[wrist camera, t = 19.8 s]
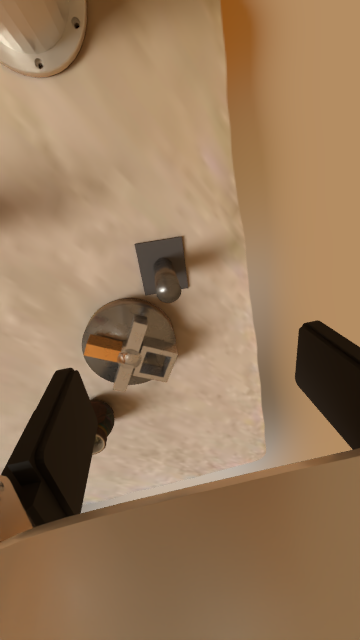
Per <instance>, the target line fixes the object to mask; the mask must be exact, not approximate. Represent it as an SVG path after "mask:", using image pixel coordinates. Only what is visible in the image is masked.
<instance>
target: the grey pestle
mask: <svg viewBox="0 0 360 640" xmlns="http://www.w3.org/2000/svg"><path fill="white" fill-rule="evenodd" d="M153 268H154V278H155V287H156V294H157V297H158V298H159V299H160V300H161V301H162V302H165V303H171V302H174V301H176V300H177V299H178V298H179V297H180V295H181V287H180V284H179V281H178V279H177V276H176V273H175V270H174V267H173V265H172V263H171V261H170V260H169V259H166V258H160V259H158V260H157V261H156V262H155V263H154V267H153Z"/></svg>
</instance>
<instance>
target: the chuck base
mask: <svg viewBox="0 0 360 640" xmlns="http://www.w3.org/2000/svg"><path fill="white" fill-rule="evenodd" d="M134 314H138V315H142V316H146V317H147V321H148V326H147V329H146V332H145V335H144V336H145V337H149V338H153V339H157V340H161V341H165V342H169V343H173V344H176V339H175V335H174V331H173V327H172V324H171V322H170V320H169V318H168V317H167V316H166V314H165V313H164V312H163V311H162V310H161V309H160V308H158V307H157V306H155V305H154V304H152V303H150V302H147V301H144V300H141V299H134V298H125V299H119V300H115V301H112V302H109V303H107V304H106V305H104V306H102V307H101V308H100V309H98V310H97V311H96V312H95V313H94V315H93V316H92V317H91V319H90V321H89V323H88V325H87V327H86V330H85V332H84V335H83V339H82V351H83V355H84V352H85V348H86V344H87V341H88V339H89V336H90V334H92V335H97V336H101V337H105V338H110V339H114V340H118V341H122V342H123V341H124V340H127V337H128V333H129V330H130V327H131V324H132V320H133V317H134ZM84 358H85V360H86V362H87V364H88V365H89V367H90V368H91V369H92V370H93V371H94V372H95V373H96V374H98V375H99V376H100V377H102V378H104V379H106V380H108V381H110V382H114V379H115V375H116V372H117V369H118V366H119V364H118V362H113V361H108V360H103V359H99V358H94V357H89V356H84ZM165 358H166V356H165V355H160V354H156V353H152V352H146V355H145V358H144V360H143V363H148V364H153V365H157V366H163V363H164V361H165ZM150 380H152V379H147V378H142V377H137V376H133V371H132V374H131V377H130V380H129V383H128V385H135V384H141V383H145V382H147V381H150Z"/></svg>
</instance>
